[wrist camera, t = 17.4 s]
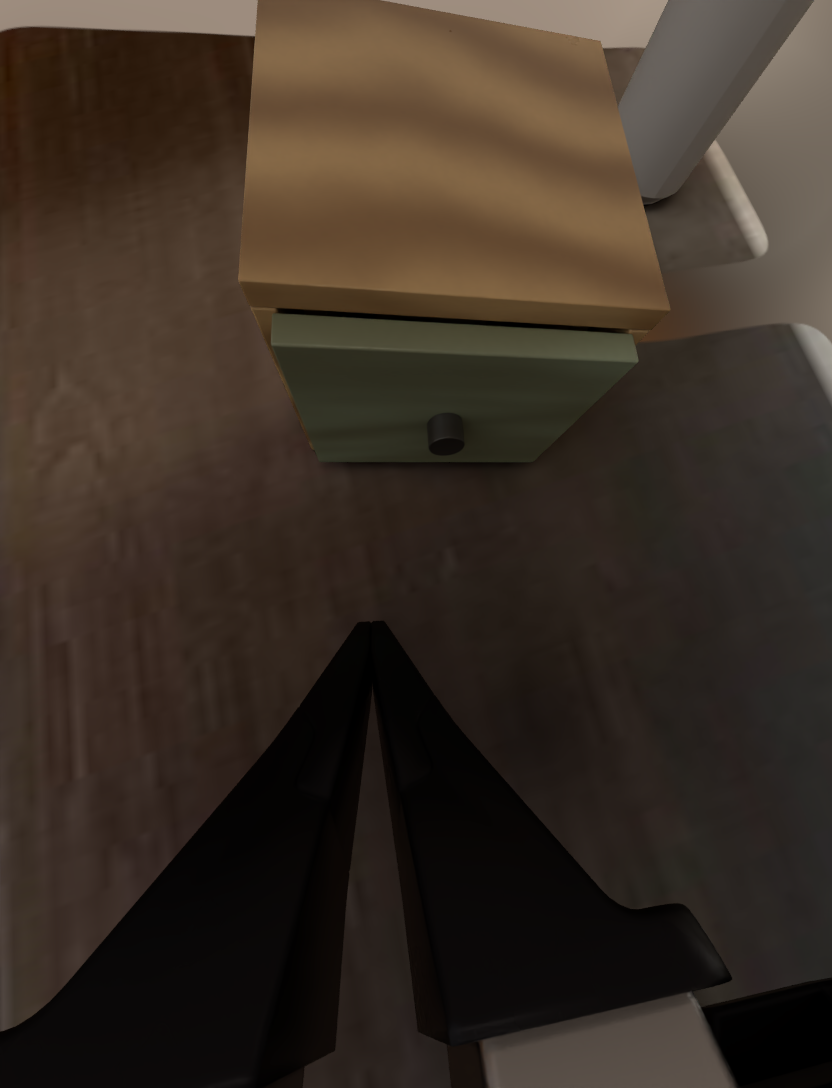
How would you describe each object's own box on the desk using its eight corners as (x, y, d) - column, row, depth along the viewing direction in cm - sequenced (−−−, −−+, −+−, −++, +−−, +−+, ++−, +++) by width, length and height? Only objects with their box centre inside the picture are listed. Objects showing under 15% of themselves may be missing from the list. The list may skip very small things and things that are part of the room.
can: (660, 148, 27) (870, -195, 16) (683, 214, 26) (934, -110, 14) (582, 142, 26) (744, -231, 15) (603, 210, 25) (800, -142, 13)
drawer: (535, 481, 18) (647, 391, 11) (318, 483, 17) (268, 379, 9) (508, 291, 21) (582, 111, 13) (320, 277, 19) (281, 64, 12)
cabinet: (532, 451, 20) (671, 309, 10) (311, 450, 18) (237, 279, 9) (508, 278, 22) (600, 40, 13) (313, 263, 21) (258, -23, 11)
